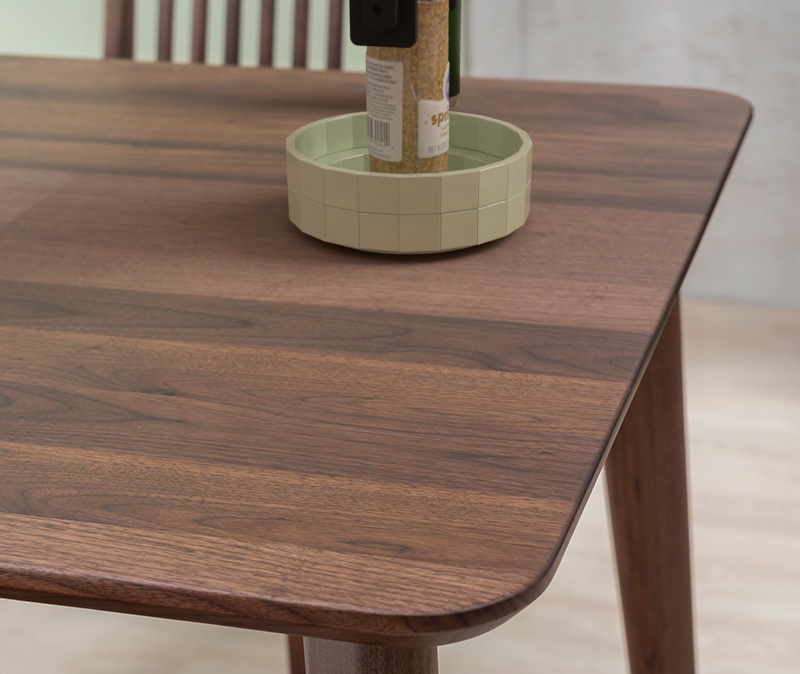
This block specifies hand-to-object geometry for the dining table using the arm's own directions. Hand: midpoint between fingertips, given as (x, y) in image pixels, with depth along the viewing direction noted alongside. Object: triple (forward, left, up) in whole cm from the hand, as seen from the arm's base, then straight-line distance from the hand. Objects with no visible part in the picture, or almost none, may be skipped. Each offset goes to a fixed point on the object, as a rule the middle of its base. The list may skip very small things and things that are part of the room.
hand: (407, 26), depth 64 cm
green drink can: (-5, +26, -11) cm, 28 cm away
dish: (0, 0, -10) cm, 10 cm away
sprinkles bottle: (0, 0, -10) cm, 10 cm away
